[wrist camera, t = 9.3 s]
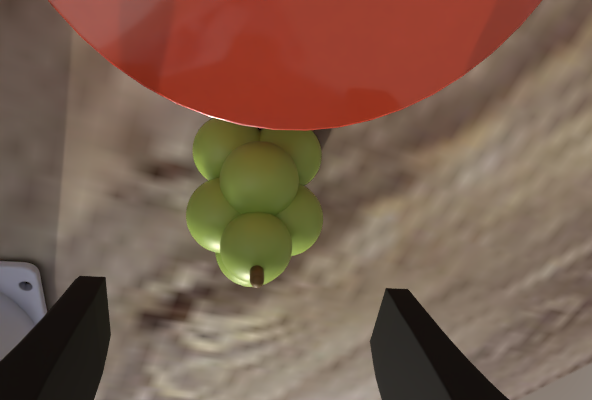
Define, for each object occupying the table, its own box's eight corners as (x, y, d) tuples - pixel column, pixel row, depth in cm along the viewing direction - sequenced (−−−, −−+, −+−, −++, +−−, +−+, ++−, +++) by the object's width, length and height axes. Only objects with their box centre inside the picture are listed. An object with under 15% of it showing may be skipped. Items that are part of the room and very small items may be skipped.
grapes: (302, 226, 21) (322, 352, 16) (193, 220, 21) (174, 348, 15) (322, 108, 18) (354, 211, 13) (196, 97, 18) (174, 200, 12)
